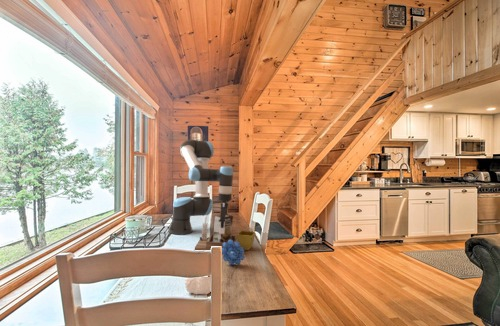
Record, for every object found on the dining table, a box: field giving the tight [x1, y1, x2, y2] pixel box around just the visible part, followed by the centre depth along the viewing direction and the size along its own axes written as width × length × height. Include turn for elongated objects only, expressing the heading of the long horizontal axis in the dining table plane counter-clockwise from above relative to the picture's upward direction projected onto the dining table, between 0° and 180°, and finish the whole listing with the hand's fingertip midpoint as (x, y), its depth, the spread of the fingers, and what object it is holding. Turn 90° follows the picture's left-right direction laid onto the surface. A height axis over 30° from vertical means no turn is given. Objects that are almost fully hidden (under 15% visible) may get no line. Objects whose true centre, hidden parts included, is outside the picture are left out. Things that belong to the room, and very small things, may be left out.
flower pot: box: [236, 230, 256, 251], centre depth 141 cm, size 9×9×9 cm
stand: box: [194, 233, 238, 251], centre depth 141 cm, size 16×22×5 cm
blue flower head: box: [221, 239, 246, 266], centre depth 115 cm, size 12×7×12 cm, turn 95°
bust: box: [185, 277, 210, 296], centre depth 91 cm, size 12×8×11 cm
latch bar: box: [201, 222, 208, 240], centre depth 146 cm, size 10×2×2 cm
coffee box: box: [213, 214, 234, 243], centre depth 141 cm, size 9×6×16 cm
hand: (222, 230), depth 141 cm, fingers open, 13 cm apart
